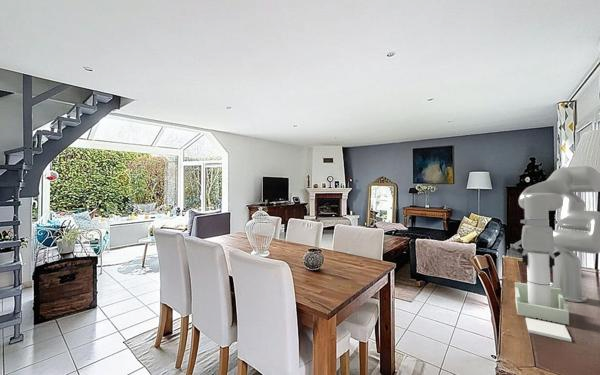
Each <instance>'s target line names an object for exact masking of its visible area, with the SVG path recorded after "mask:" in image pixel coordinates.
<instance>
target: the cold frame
mask: <svg viewBox="0 0 600 375" xmlns="http://www.w3.org/2000/svg"><path fill="white" fill-rule="evenodd" d="M514 293H515V294H514V296H515V297H514V298H515V308H516V313H517V315H518V316H521V317H525V318H530V319H536V318H538V319H537V320H541V319H542V320H541V321H546V320H547V321H546V322H551V321H552V322H551V323H556V322H557V323H556V324H560V325H566V324H567V325H568V326H570V313H569V312H570V311H569V305H568V303H567V302H566V300H564V298H563V297H562V295H561V289H559V288H552V287H551V308H550V307H545V306H539V305H533V304H528V284H524V282H523V283H522V282H515V281H514Z"/></svg>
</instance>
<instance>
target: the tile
mask: <svg viewBox="0 0 600 375" xmlns="http://www.w3.org/2000/svg"><path fill="white" fill-rule="evenodd" d="M525 323H526V327H527V328H526V329H527V332H528V333H529V334H534V335H538V336H542V337H546V338H552V339H556V340H561V341H566V342H570V343H572V342H573V341H572V337H571V336H570V333H569V331H568V329H567V328H566V324H561V323H556V322H551V321H546V320H541V319H536V318H531V317H525Z"/></svg>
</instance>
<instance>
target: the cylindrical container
mask: <svg viewBox="0 0 600 375" xmlns="http://www.w3.org/2000/svg"><path fill="white" fill-rule="evenodd" d="M526 276H527V279H526V280H527V282H526V283H528V304H533V305H539V306H545V307H550V308H551V284H550V282H551V268H550V255H549V253H548V252H539V251H528V252H527V265H526Z"/></svg>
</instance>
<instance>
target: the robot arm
mask: <svg viewBox="0 0 600 375" xmlns="http://www.w3.org/2000/svg"><path fill="white" fill-rule="evenodd" d="M598 192H600V172H599V171H598V170H597V169H595V168H594V167H592V166H589V165H588V166H587V165H583V166H580V165H579V166H566V167H560V168H556V169H555V170H554V171H553V172H551V174H550V176H549V177H548V178H547V179H546V180H544V181H541V182H537V183H535V184H533V185H530V186H528V187H525V189H524V190H523V191H522V192H521V193H520V195H519V197H518V205H519V207H520V208H522V209H524V219H520V224H524V225H522V229H521V239H520V240H518V241H516V242H515V243H513V244H512V247H513V248H514V249H515V250H516V251H517V252H518V253H519V254H521V255H522V256H521V258H522V260H521V261H522V263H523V264H524V266H527V255H526V253H527V252H528V251H539V252H548V253H549V255H550V269H552V281H550V284H551V287H552V288H559V289H561V295H562V297H563V298H564V300H565V301H567V302H573V303H585V302H587V301H588V297H587V296H585V295H583V291H582V289H583V288H582V287H583V286H582V261H581V260H580V258H579V256H578V255H577V254H576V253H577V252H578V253H585V254H600V211H596V210H586V202H585V201H584V199H582V198H581V197H580V196H578V194H576V193H598ZM557 210H559V211H558V215H557V221H556V223H557V226H558V227H559V229H553V227H552V226H550V219H549V218H550V217H549V216H550V213H549V211H550V212H551V211H557ZM560 228H561V229H560ZM520 245H521V247H522V249H523V250H522V249H521V248H520V247H519V246H520ZM575 252H576V253H575Z"/></svg>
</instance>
